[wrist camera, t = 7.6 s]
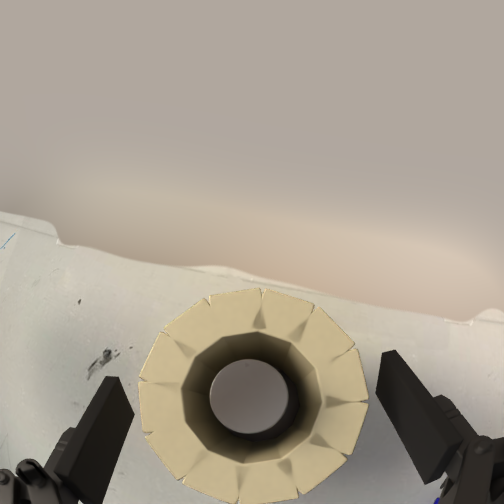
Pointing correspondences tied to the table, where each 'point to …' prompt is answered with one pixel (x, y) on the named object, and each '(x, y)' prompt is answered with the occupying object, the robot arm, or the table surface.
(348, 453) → the tape roll
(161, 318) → the table surface
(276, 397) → the tape stand
